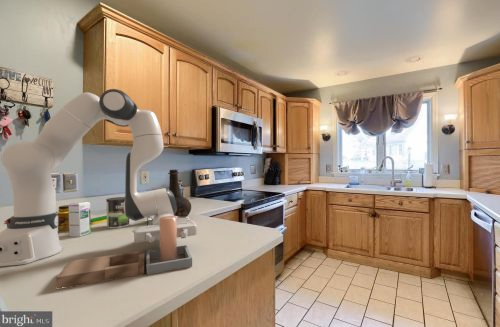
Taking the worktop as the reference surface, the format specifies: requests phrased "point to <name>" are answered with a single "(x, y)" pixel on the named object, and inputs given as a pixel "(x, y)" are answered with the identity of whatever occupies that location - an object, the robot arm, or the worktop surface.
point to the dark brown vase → (178, 195)
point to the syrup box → (79, 219)
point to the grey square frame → (168, 264)
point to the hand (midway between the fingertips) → (168, 237)
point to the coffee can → (116, 213)
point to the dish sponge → (98, 220)
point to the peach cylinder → (168, 238)
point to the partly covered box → (101, 269)
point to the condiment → (63, 219)
